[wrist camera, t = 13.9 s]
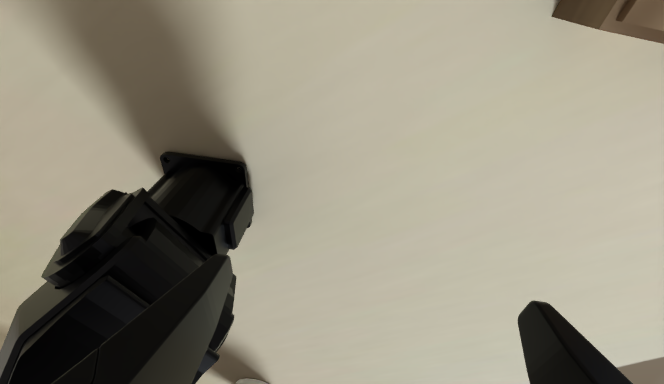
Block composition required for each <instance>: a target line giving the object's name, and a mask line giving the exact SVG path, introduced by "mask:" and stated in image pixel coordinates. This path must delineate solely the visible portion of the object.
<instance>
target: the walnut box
mask: <svg viewBox="0 0 664 384" xmlns="http://www.w3.org/2000/svg"><path fill="white" fill-rule="evenodd" d="M552 17H555V18H559V19H562V20H566V21H569V22H573V23H577V24H580V25H584V26H588V27H591V28H595V29H599V30H603V31H608V32H612V33H617V34H622V35H626V36H631V37H635V38H640V39H644V40H649V41H654V42H658V43H663V44H664V0H560V2H559V4H558V6H557V8H556V10H555V11H554V13H553V15H552Z"/></svg>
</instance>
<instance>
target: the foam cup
mask: <svg viewBox="0 0 664 384" xmlns="http://www.w3.org/2000/svg"><path fill="white" fill-rule="evenodd" d="M236 384H268V383H266V382H264V381H260V380H256V379H248V378H246V379H240V380H238V381H237V382H236Z"/></svg>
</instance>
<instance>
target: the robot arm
mask: <svg viewBox="0 0 664 384" xmlns="http://www.w3.org/2000/svg"><path fill="white" fill-rule="evenodd" d="M167 158H168V159H169V160H168V159H167ZM160 160H161V163H162V167H163V170H164V174H165V175H164V176H163V177H162V178H161V179H160V180H159V181H158V182H157V183H156V184H155V185H154V186H153V187H152V188H151V189H149V190H148V191H146V190H145V189H144V188H141V189H139V190H137V191H135V192H133V193H129V194H128V193H126V192H125V193H123V192H120V191H116V190H113V189H112V190H110V191H108V192H106V193H105V194H104V195H103V196H101V197H100V198H99V199H98V200H97V201H95V202H94V203H93V204H92V205H91V206H90V207H88V208H87V209H86V210H85V211H84V212H83V213H82V214H81V215H80V216H79V217H78V218H77V220H76V221H75V222H74V223H73V225H72V226H71V227H70V228H69V229H68V231H67V232H66V233H65V234H64V236H63V237H62V238H61V239H60V245H59V247H58V249H57V250H56V252H55V254H54V255H53V257H52V259H51V260H50V262H49V264H48V265H47V267H46V269H45V270H44V272H43V274H42V276H41V277H42V278H44V279H45V280H47V282H46V283H45V284H44V285H42V286H41V287H40V288H39V289H38V290H37V291H36V292H34V293H33V294H32V295H31V296H30V297H29V298H28V299H26V300H25V301H24V302H23V303H22V304H21V305H20V306H19V308H18V309H17V311H16V314H15V316H14V319H13V321H12V324H11V326H10V329H9V331H8V334H7V336H6V339H5V341H4V344H3V346H2V349H1V351H0V384H195V383H196V382H197V381H198V380H199V378H200V377H201V376H202V375H203V374H204V373H205V372H206V371H207V370H208V369H209V368H210V367H211V366H212V365H213V364H214V363H215V362H217V361H218V359H219V354H218V353H216V352H217V351H218V349H219V348H220V347H221V345H222V344H223V342H224V341H225V339H226V337H227V335H228V332H229V330H230V328H231V326H232V324H233V321H234V315H233V314H232V311H233V302H234V294H235V285H236V276H235V275H234V274H233V271H232V266H231V260H230V257H229V256H228V255H226V254H227V253H228V251H229V249H233V250H234V249H235V248H237V247H238V245H239V243H240V241H241V239H242V237H243V235H244V232H245V230H246V228H249V227H250V225H251V223H252V216H253V214H254V209H253V198H252V190H251V189H250V188H249V187H248V176H247V167H246V165H245V164H244V163H242V162H239V161H232V160H225V159H217V158H210V157H202V156H195V155H188V154H180V153H173V152H165V153H163V154H162V155H161V156H160ZM237 167H239V168H241V170H239V169H238V168H237ZM518 327H519V332H520V337H521V342H522V347H523V353H524V358H525V363H526V368H527V373H528V377H529V381H530V384H633V383H632V382H631V381H630V380H628V379H627V378H626V377H625V376H624V375H623V374H622V373H621V372H620V371H619V370H618V369H617V368H616V367H615V366H614V365H613V364H612V363H611V362H610V361H609V360H608V359H607V358H606V357H604V356H603V355H602V354H601V353H600V352H599V351H598V350H597V349H596V348H595V347H594V346H593V345H592V344H591V343H590V342H589V341H588V340H587V339H586V338H585V337H584V336H583V335H582V334H580V333H579V332H578V331H577V330H576V329H575V328H574V327H573V326H572V325H571V324H570V323H569V322H568V321H567V320H566V319H565V318H564V317H563V316H562V315H561V314H560V313H559V312H557V311H556V310H555V309H554V308H553V307H552V306H551V305H550V304H548V303H546V302H540V301H531V302H530V303H529V304H528V305H527V306H526V307H525V309H524V310H523V311H522V312H521V313H520V315H519V317H518Z"/></svg>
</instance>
